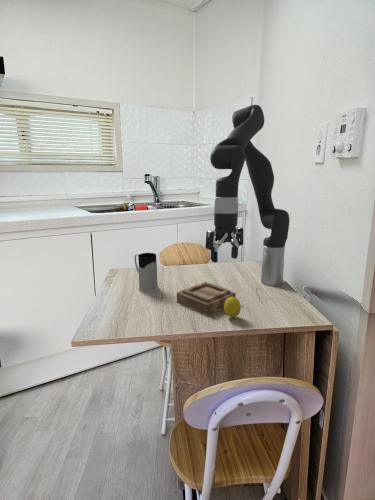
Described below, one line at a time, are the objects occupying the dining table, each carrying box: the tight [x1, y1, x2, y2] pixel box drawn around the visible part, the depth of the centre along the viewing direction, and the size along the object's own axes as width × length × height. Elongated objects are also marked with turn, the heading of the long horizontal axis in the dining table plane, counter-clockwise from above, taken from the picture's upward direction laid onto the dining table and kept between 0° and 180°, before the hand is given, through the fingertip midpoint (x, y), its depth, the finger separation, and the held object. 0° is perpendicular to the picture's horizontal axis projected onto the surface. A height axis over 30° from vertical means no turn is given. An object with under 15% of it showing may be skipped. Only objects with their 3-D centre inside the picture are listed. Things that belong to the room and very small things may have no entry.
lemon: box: [223, 296, 241, 319], centre depth 106 cm, size 6×6×8 cm
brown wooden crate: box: [176, 281, 237, 316], centre depth 119 cm, size 16×16×5 cm
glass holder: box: [134, 252, 159, 293], centre depth 134 cm, size 9×14×15 cm, turn 41°
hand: (224, 260), depth 103 cm, fingers open, 8 cm apart
